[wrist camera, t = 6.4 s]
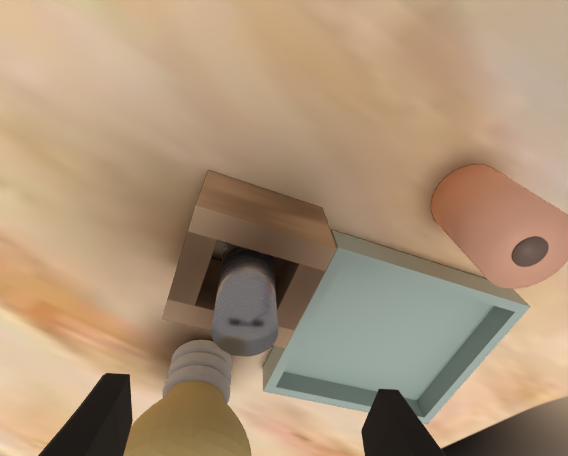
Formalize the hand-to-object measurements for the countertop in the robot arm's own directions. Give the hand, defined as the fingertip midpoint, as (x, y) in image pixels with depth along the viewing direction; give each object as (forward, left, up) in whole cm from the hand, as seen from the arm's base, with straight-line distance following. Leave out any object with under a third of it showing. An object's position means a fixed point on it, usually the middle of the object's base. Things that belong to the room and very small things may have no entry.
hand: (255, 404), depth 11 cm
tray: (-10, +4, -10) cm, 14 cm away
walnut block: (0, 0, -10) cm, 10 cm away
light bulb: (0, +9, -10) cm, 14 cm away
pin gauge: (0, 0, -10) cm, 10 cm away
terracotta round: (-10, -6, -10) cm, 15 cm away
